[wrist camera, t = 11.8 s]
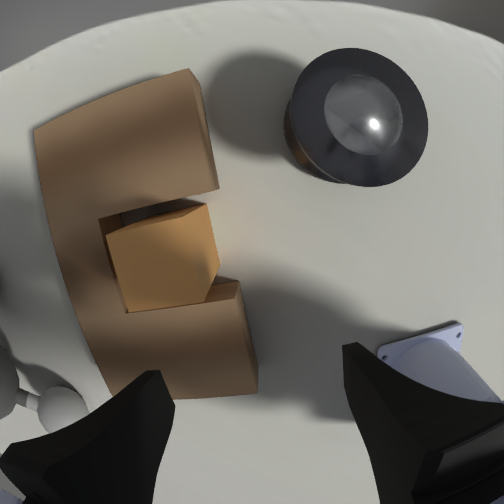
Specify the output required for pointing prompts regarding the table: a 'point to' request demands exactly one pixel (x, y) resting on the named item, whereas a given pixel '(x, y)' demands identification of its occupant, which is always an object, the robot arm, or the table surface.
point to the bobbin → (356, 119)
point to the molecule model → (39, 399)
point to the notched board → (108, 220)
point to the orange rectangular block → (165, 259)
